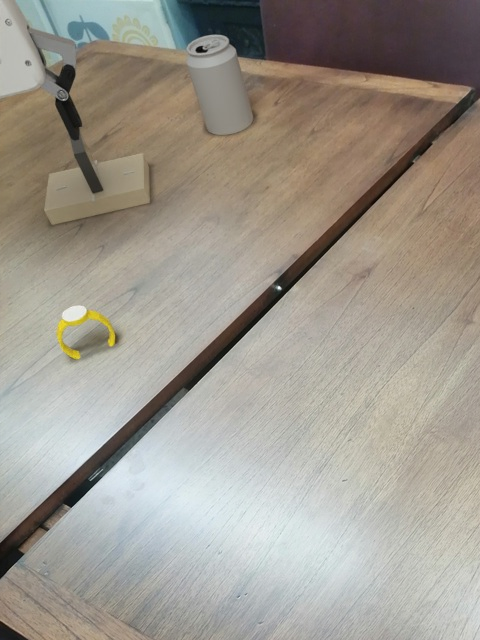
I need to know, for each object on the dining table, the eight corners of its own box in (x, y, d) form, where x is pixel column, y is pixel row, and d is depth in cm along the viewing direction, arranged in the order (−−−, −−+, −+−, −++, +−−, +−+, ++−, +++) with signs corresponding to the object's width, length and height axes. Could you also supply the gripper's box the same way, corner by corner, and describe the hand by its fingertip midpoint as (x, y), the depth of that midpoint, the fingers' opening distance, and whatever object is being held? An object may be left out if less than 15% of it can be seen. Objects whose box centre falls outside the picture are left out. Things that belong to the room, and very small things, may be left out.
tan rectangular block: (54, 232, 97) (42, 211, 94) (59, 191, 104) (48, 170, 101) (152, 210, 97) (143, 189, 95) (151, 170, 104) (142, 149, 101)
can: (204, 124, 110) (177, 40, 100) (248, 111, 111) (226, 26, 101) (213, 145, 106) (186, 59, 96) (260, 131, 107) (238, 44, 97)
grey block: (103, 190, 96) (84, 149, 91) (92, 193, 96) (72, 153, 91) (97, 167, 100) (78, 126, 95) (86, 170, 100) (67, 130, 95)
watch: (74, 370, 80) (47, 330, 75) (70, 356, 81) (44, 316, 76) (124, 351, 81) (101, 310, 76) (119, 338, 82) (96, 297, 77)
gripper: (-173, -9, 60) (-49, 181, 74) (25, -53, 61) (110, 142, 74) (-154, -37, 64) (-41, 147, 78) (30, -78, 65) (110, 111, 79)
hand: (33, 145), depth 76 cm, fingers open, 9 cm apart
